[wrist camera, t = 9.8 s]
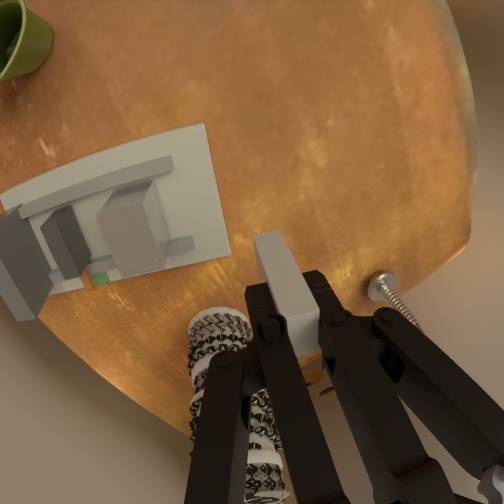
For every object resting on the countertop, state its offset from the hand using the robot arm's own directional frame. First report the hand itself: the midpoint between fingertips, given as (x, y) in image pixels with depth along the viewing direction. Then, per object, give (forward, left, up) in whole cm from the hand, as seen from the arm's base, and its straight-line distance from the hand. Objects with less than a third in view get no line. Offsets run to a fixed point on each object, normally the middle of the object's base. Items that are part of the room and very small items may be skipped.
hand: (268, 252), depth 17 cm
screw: (+18, +17, -15) cm, 28 cm away
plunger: (+1, -10, -13) cm, 16 cm away
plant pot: (-20, -18, -15) cm, 31 cm away
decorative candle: (+20, -6, -15) cm, 25 cm away
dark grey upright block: (+2, -18, -13) cm, 22 cm away
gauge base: (+1, -14, -14) cm, 20 cm away
